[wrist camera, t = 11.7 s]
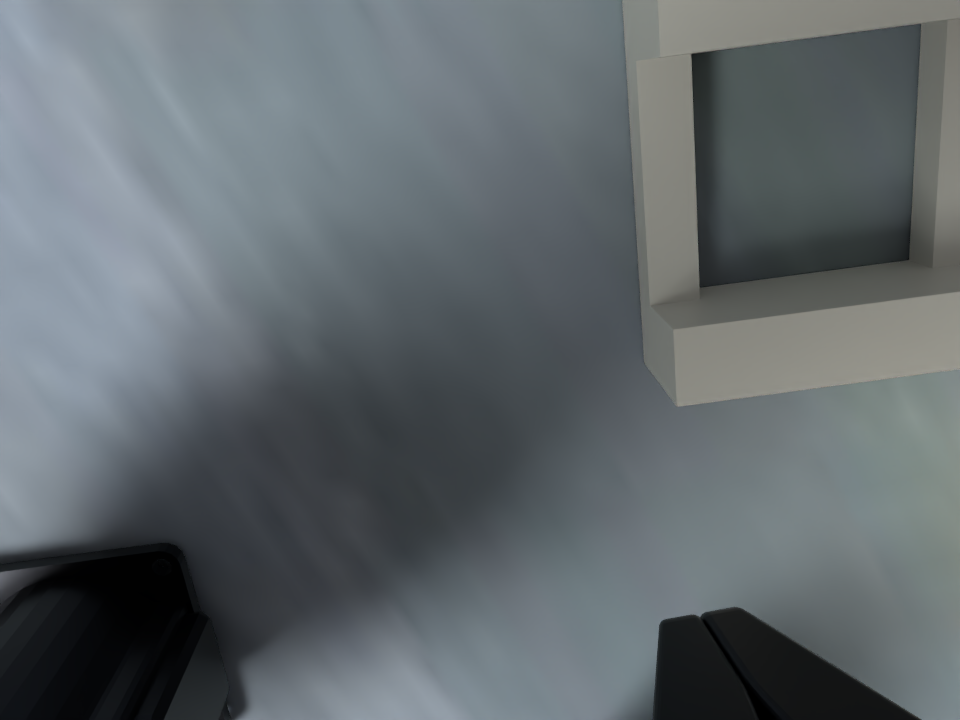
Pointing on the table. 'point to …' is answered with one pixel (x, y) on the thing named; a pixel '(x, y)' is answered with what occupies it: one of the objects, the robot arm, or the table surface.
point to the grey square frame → (798, 298)
